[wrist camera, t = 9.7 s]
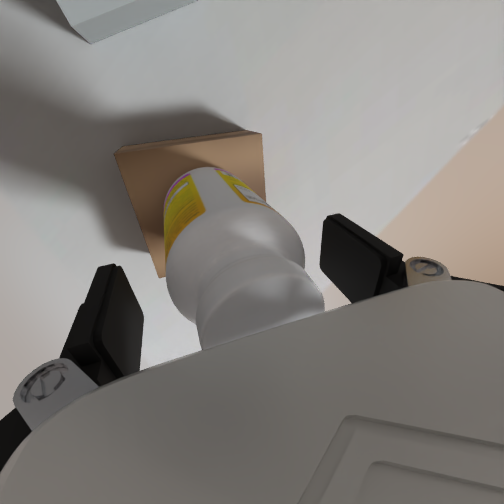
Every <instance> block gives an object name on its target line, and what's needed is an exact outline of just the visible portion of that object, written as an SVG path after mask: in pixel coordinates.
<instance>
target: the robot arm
mask: <svg viewBox="0 0 504 504" xmlns="http://www.w3.org/2000/svg"><path fill="white" fill-rule="evenodd" d="M402 258H403V254H402V253H400V252H399V251H397V250H396V249H394V248H393V247H391V246H390V245H388V244H386V243H385V242H383V241H382V240H380V239H379V238H377V237H376V236H374V235H372V234H371V233H369V232H368V231H366V230H365V229H363V228H362V227H360V226H358V225H357V224H355V223H354V222H352V221H351V220H349V219H348V218H346V217H344V216H343V215H341V214H334V215H329V216H327V218H326V219H325V220H324V221H323V231H322V242H321V254H320V268H321V270H322V272H323V273H324V274H325V275H326V276H327V277H328V278H329V279H330V280H331V281H332V282H333V283H334V284H335V285H336V287H337V288H338V289H339V290H340V291H341V292H342V293H343V294H344V295H345V296H346V297H347V298H348V299H349V300H350V302H351V303H352V304H348V305H345V306H342V307H338V308H335V309H332V310H329V311H325V312H322V313H319V314H316V315H312V316H309V317H306V318H303V319H300V320H296V321H293V322H290V323H287V324H284V325H280V326H277V327H274V328H271V329H268V330H264V331H261V332H258V333H255V334H252V335H249V336H245V337H242V338H239V339H236V340H233V341H230V342H227V343H223V344H220V345H217V346H214V347H211V348H208V349H205V350H201V351H198V352H195V353H192V354H189V355H186V356H183V357H180V358H177V359H174V360H170V361H167V362H164V363H161V364H158V365H155V366H152V367H150V368H147V369H144V370H141V371H140V359H141V347H142V335H143V323H144V316H143V312H142V310H141V307H140V305H139V303H138V301H137V299H136V297H135V294H134V292H133V290H132V288H131V286H130V284H129V282H128V279H127V277H126V275H125V273H124V271H123V269H122V267H121V266H116V265H115V264H109V265H105V266H100V267H98V268H97V271H96V273H95V276H94V279H93V281H92V284H91V287H90V289H89V292H88V294H87V297H86V300H85V302H84V303H83V304H81V306H80V307H79V310H78V312H77V315H76V317H75V320H74V323H73V325H72V327H71V330H70V332H69V335H68V338H67V340H66V342H65V345H64V347H63V350H62V353H61V355H60V358H59V359H55V360H51V361H49V362H47V363H44V364H42V365H41V366H39V367H38V368H36V369H35V370H33V371H32V372H31V373H30V374H28V375H27V376H26V377H25V378H24V379H23V381H22V382H21V383H20V384H19V386H18V387H17V389H16V391H15V393H14V397H13V402H14V405H15V407H16V408H15V409H13V410H12V411H11V412H10V413H9V414H7V415H6V416H5V417H4V418H3V419H1V420H0V504H504V286H500V285H495V284H490V283H484V282H479V281H474V280H469V279H463V278H458V277H453V276H450V274H449V271H448V269H447V268H446V267H445V266H444V265H443V264H441V263H440V262H438V261H435V260H433V259H429V258H425V257H412V258H410V259H408V260H407V261H406V262H404V261H402Z"/></svg>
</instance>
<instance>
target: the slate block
mask: <svg viewBox="0 0 504 504" xmlns="http://www.w3.org/2000/svg"><path fill="white" fill-rule="evenodd" d="M56 1H57V3H58V5H59V6H60V8H61V10H62V11H63V13H64V15H65V17H66V18H67V20H68V22H69V23H70V25H71V27H72V28H73V29H75V30H76V31H77V32H78V33H79V34H80V35H81V36H82V37H83V38H84V39H86V40H87V41H88V42H89V43H90V44H92V43H95V42H97V41H99V40H102V39H104V38H107V37H109V36H112V35H114V34H117V33H119V32H121V31H124V30H126V29H129V28H131V27H134V26H136V25H139V24H141V23H143V22H146V21H148V20H151V19H153V18H156V17H158V16H161V15H163V14H165V13H168V12H170V11H173V10H175V9H178V8H180V7H183V6H185V5H187V4H190V3H192V2H195V1H197V0H56Z"/></svg>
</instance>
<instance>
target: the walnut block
mask: <svg viewBox="0 0 504 504" xmlns="http://www.w3.org/2000/svg"><path fill="white" fill-rule="evenodd" d="M114 156H115V159H116V161H117V164H118V167H119V170H120V172H121V175H122V178H123V181H124V183H125V186H126V189H127V192H128V194H129V197H130V200H131V203H132V205H133V208H134V211H135V214H136V216H137V219H138V222H139V225H140V227H141V230H142V233H143V236H144V238H145V241H146V244H147V247H148V249H149V252H150V255H151V258H152V260H153V263H154V266H155V269H156V271H157V274H158V277H159V278H162V277H166V272H165V245H164V244H165V242H164V202H165V198H166V195H167V193H168V191H169V189H170V187H171V186H172V184H173V183H174V182H175V181H176V180H177V179H178V178H179V177H180V176H182V175H183V174H185V173H187V172H188V171H191V170H193V169H196V168H201V167H215V168H220V169H223V170H225V171H228V172H230V173H231V174H233V175H234V176H236V177H237V178H239V179H240V180H241V181H242V182H243V183H244V184H246V185H247V186H248V187H249V188H250V189H251V190H253V191H254V192H255V193H256V194H257V195H258V196H259V197H260V198H261V199H263V200H264V201H265V202H266V193H265V178H264V162H263V146H262V134H261V133H257V132H253V131H248V130H243V131H235V132H227V133H220V134H212V135H205V136H197V137H189V138H182V139H174V140H167V141H159V142H151V143H144V144H136V145H129V146H122V147H121V148H120V149H119V150H118V151H117V152H115V153H114Z"/></svg>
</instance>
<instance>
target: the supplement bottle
mask: <svg viewBox="0 0 504 504" xmlns="http://www.w3.org/2000/svg"><path fill="white" fill-rule="evenodd" d="M164 242H165V244H164V245H165V272H166V282H167V288H168V291H169V294H170V296H171V299H172V301H173V303H174V305H175V306H176V307H177V309H178V310H179V311H180V313H181V314H182V315H183V316H185V317H186V318H187V319H188V320H190V321H191V322H193V323H194V324H196V326H197V330H198V335H199V340H200V345H201V348H202V350H205V349H208V348H211V347H214V346H217V345H220V344H223V343H227V342H230V341H233V340H236V339H239V338H242V337H245V336H249V335H252V334H255V333H258V332H261V331H264V330H268V329H271V328H274V327H277V326H280V325H284V324H287V323H290V322H293V321H296V320H300V319H303V318H306V317H309V316H312V315H316V314H319V313H322V312H324V300H323V296H322V293H321V292H320V290H319V288H318V287H317V286H316V284H315V283H314V282H313V281H312V279H311V278H310V277H309V276H308V274H307V273H306V271H305V270H304V268H305V254H304V249H303V245H302V242H301V239H300V237H299V235H298V234H297V232H296V231H295V229H294V228H293V227H292V225H291V224H290V223H289V222H288V221H287V220H286V219H285V218H284V217H283V216H281V215H280V214H279V213H278V212H277V211H275V210H274V209H273V208H272V207H271V206H269V205H268V204H267V203H266V202H265V201H264V200H263V199H261V198H260V197H259V196H258V195H257V194H256V193H255V192H254V191H253V190H251V189H250V188H249V187H248V186H247V185H246V184H244V183H243V182H242V181H241V180H240V179H239V178H237V177H236V176H234V175H233V174H231V173H230V172H228V171H225V170H223V169H220V168H215V167H201V168H196V169H193V170H191V171H188V172H187V173H185V174H183V175H182V176H180V177H179V178H178V179H177V180H176V181H175V182H174V183H173V184H172V186H171V187H170V189H169V191H168V193H167V195H166V198H165V202H164Z"/></svg>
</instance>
